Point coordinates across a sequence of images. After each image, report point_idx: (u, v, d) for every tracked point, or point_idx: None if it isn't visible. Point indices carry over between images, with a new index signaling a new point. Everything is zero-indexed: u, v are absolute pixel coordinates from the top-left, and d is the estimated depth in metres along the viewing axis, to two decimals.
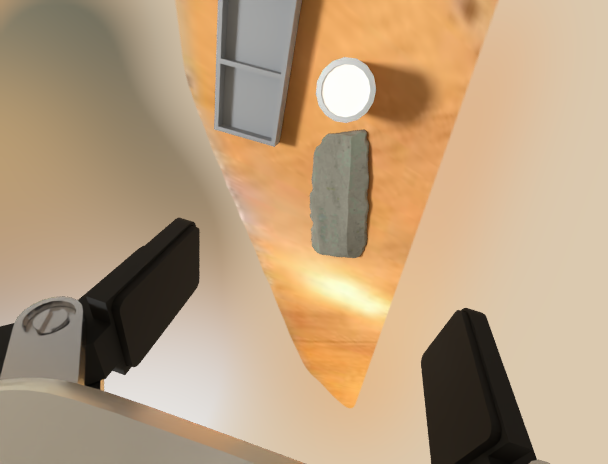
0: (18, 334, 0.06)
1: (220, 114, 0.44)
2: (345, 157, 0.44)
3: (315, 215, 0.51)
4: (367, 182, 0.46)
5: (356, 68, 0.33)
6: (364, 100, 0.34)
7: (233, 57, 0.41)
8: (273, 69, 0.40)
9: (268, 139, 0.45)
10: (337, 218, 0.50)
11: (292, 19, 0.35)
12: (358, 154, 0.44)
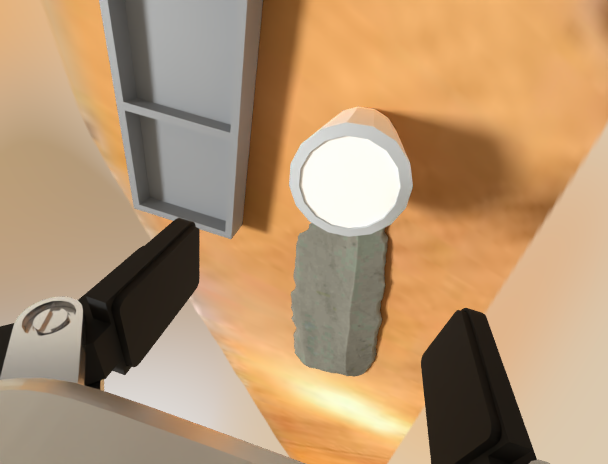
0: (18, 334, 0.06)
1: (141, 186, 0.27)
2: (348, 257, 0.27)
3: (300, 322, 0.34)
4: (381, 292, 0.29)
5: (372, 145, 0.15)
6: (387, 203, 0.17)
7: (150, 98, 0.23)
8: (220, 120, 0.23)
9: (221, 226, 0.27)
10: (332, 332, 0.33)
11: (242, 34, 0.18)
12: (369, 255, 0.26)
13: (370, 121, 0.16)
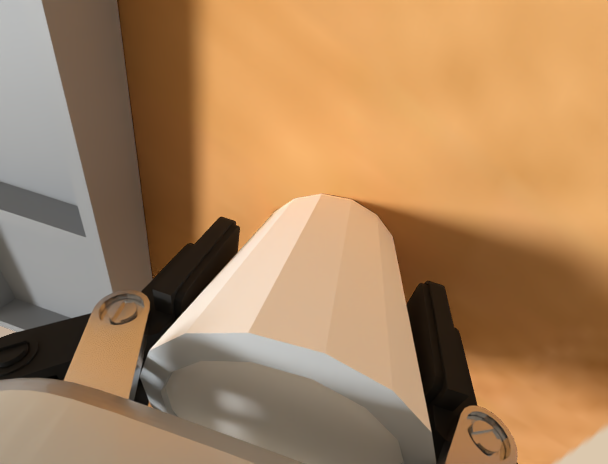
0: (97, 323, 0.07)
1: None
2: None
3: None
4: None
5: (325, 387, 0.05)
6: None
7: None
8: None
9: None
10: None
11: (52, 64, 0.08)
12: None
13: (326, 295, 0.06)
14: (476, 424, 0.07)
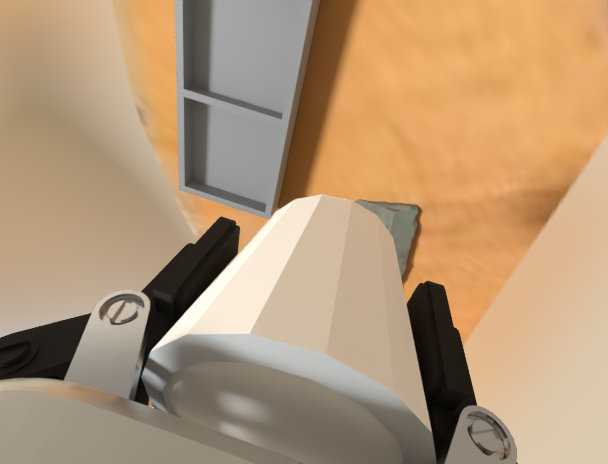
0: (97, 323, 0.07)
1: (188, 168, 0.29)
2: None
3: None
4: (401, 274, 0.31)
5: (326, 388, 0.05)
6: None
7: (205, 86, 0.25)
8: (269, 108, 0.25)
9: (260, 208, 0.29)
10: None
11: (304, 31, 0.20)
12: (399, 238, 0.29)
13: (327, 297, 0.06)
14: (476, 424, 0.07)
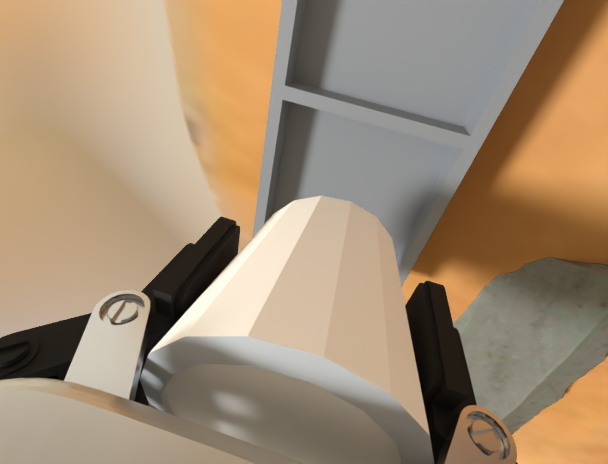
0: (98, 323, 0.07)
1: (268, 214, 0.18)
2: (577, 319, 0.18)
3: None
4: (592, 367, 0.20)
5: (324, 390, 0.05)
6: None
7: (316, 80, 0.14)
8: (432, 115, 0.14)
9: None
10: (482, 402, 0.24)
11: None
12: None
13: (325, 299, 0.06)
14: (475, 424, 0.07)
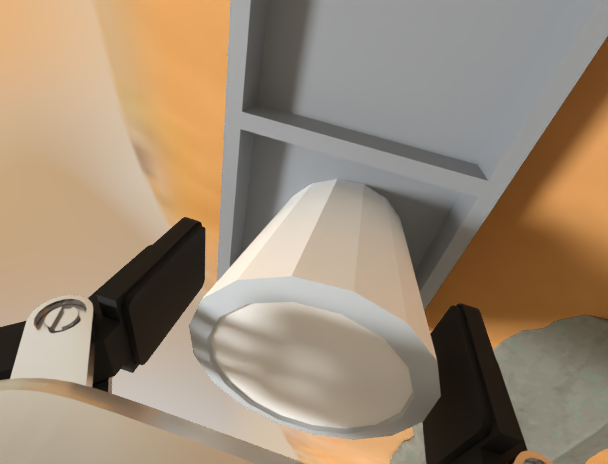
0: (30, 331, 0.06)
1: (234, 261, 0.15)
2: None
3: None
4: None
5: (351, 323, 0.07)
6: (385, 410, 0.08)
7: (286, 103, 0.11)
8: (436, 149, 0.11)
9: None
10: None
11: None
12: None
13: (350, 254, 0.07)
14: None
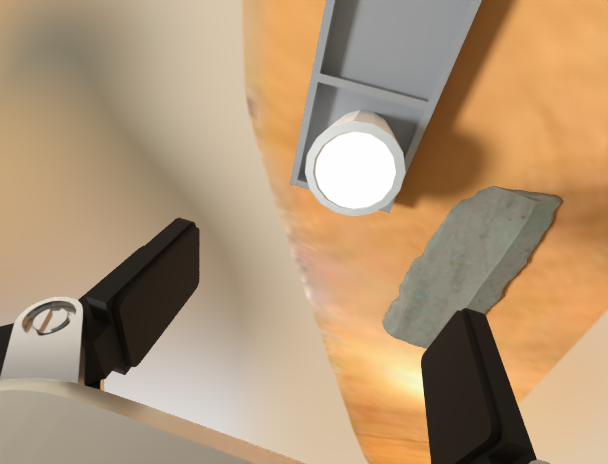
0: (18, 334, 0.06)
1: (302, 161, 0.27)
2: (508, 229, 0.27)
3: (411, 290, 0.34)
4: (518, 270, 0.30)
5: (373, 139, 0.19)
6: (385, 187, 0.21)
7: (337, 71, 0.24)
8: (407, 92, 0.23)
9: None
10: (445, 304, 0.33)
11: (478, 2, 0.19)
12: (532, 230, 0.27)
13: (371, 120, 0.20)
14: None
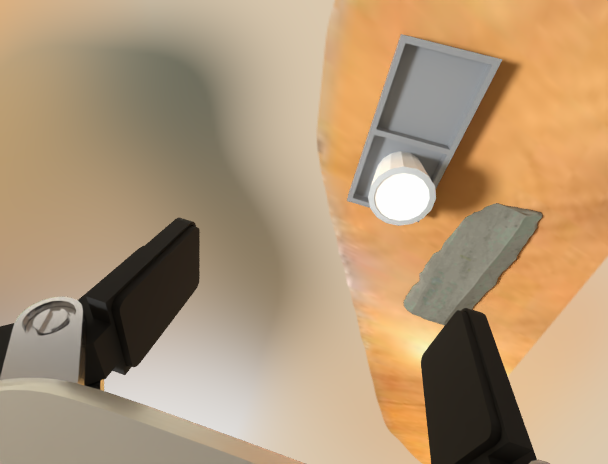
0: (18, 334, 0.06)
1: (356, 185, 0.38)
2: (504, 234, 0.38)
3: (429, 276, 0.45)
4: (510, 263, 0.41)
5: (416, 177, 0.30)
6: (421, 207, 0.32)
7: (386, 126, 0.35)
8: (434, 141, 0.34)
9: None
10: (455, 287, 0.44)
11: (483, 92, 0.30)
12: (521, 235, 0.38)
13: (414, 164, 0.31)
14: None
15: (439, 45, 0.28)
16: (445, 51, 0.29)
